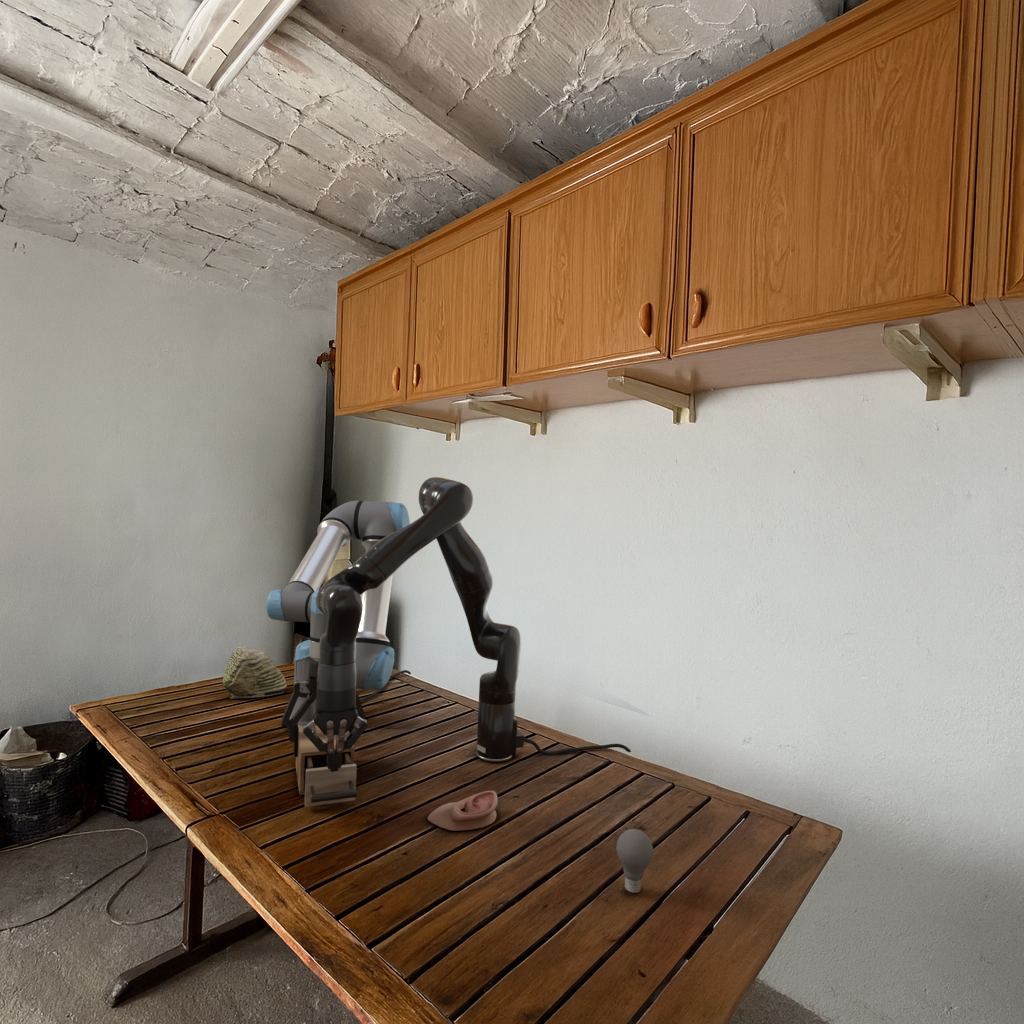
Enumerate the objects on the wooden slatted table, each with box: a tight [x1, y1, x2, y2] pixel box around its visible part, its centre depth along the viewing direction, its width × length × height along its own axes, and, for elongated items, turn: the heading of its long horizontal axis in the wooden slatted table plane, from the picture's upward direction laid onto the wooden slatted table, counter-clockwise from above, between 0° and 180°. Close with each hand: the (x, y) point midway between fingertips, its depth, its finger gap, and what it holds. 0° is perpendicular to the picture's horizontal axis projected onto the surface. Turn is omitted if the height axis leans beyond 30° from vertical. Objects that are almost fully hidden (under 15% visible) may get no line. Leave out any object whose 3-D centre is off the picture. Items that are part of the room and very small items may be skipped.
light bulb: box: [615, 828, 654, 894], centre depth 106 cm, size 6×6×10 cm
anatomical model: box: [427, 790, 499, 832], centre depth 127 cm, size 13×4×12 cm
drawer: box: [304, 752, 358, 808], centre depth 133 cm, size 21×10×7 cm, turn 22°
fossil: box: [222, 646, 288, 699], centre depth 198 cm, size 9×18×15 cm, turn 132°
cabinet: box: [295, 725, 356, 796], centre depth 143 cm, size 16×11×9 cm
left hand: (322, 752), depth 146 cm, fingers closed on cabinet, 11 cm apart
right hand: (334, 769), depth 126 cm, fingers closed
